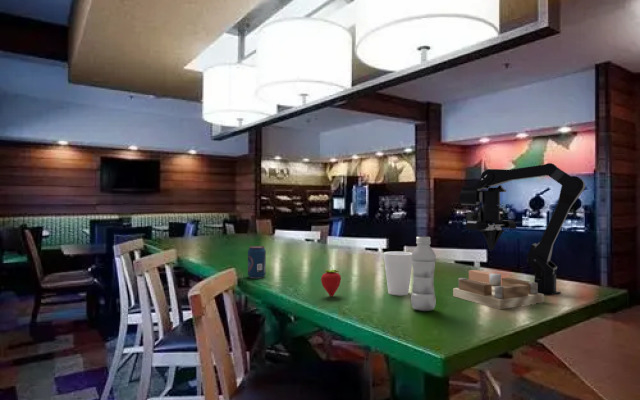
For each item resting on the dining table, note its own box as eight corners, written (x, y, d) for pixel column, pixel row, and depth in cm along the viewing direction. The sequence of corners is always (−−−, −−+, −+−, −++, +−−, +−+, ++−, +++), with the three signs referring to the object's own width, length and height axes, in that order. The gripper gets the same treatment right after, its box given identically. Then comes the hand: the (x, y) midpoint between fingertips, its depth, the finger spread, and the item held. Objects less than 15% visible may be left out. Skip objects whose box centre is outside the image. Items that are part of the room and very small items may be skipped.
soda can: (245, 276, 167) (245, 246, 168) (261, 275, 171) (262, 245, 171) (251, 279, 161) (251, 247, 161) (268, 277, 165) (268, 247, 165)
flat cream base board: (494, 291, 140) (494, 274, 140) (543, 302, 124) (543, 283, 124) (453, 296, 133) (453, 278, 133) (499, 309, 116) (499, 288, 116)
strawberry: (317, 297, 130) (317, 265, 130) (328, 293, 137) (328, 262, 137) (334, 299, 127) (334, 266, 127) (344, 295, 134) (344, 263, 134)
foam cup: (391, 297, 131) (391, 255, 131) (379, 291, 140) (379, 252, 140) (418, 295, 134) (418, 254, 134) (405, 289, 143) (405, 251, 143)
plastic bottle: (417, 306, 120) (417, 235, 120) (439, 310, 115) (440, 237, 115) (406, 310, 115) (406, 237, 115) (429, 314, 110) (429, 238, 110)
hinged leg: (503, 284, 137) (503, 274, 137) (495, 285, 135) (495, 275, 135) (475, 278, 147) (475, 269, 147) (468, 279, 146) (468, 270, 146)
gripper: (492, 205, 159) (492, 246, 159) (454, 205, 151) (454, 248, 151) (517, 205, 149) (517, 249, 149) (478, 205, 141) (478, 251, 141)
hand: (491, 249), depth 148 cm, fingers closed
